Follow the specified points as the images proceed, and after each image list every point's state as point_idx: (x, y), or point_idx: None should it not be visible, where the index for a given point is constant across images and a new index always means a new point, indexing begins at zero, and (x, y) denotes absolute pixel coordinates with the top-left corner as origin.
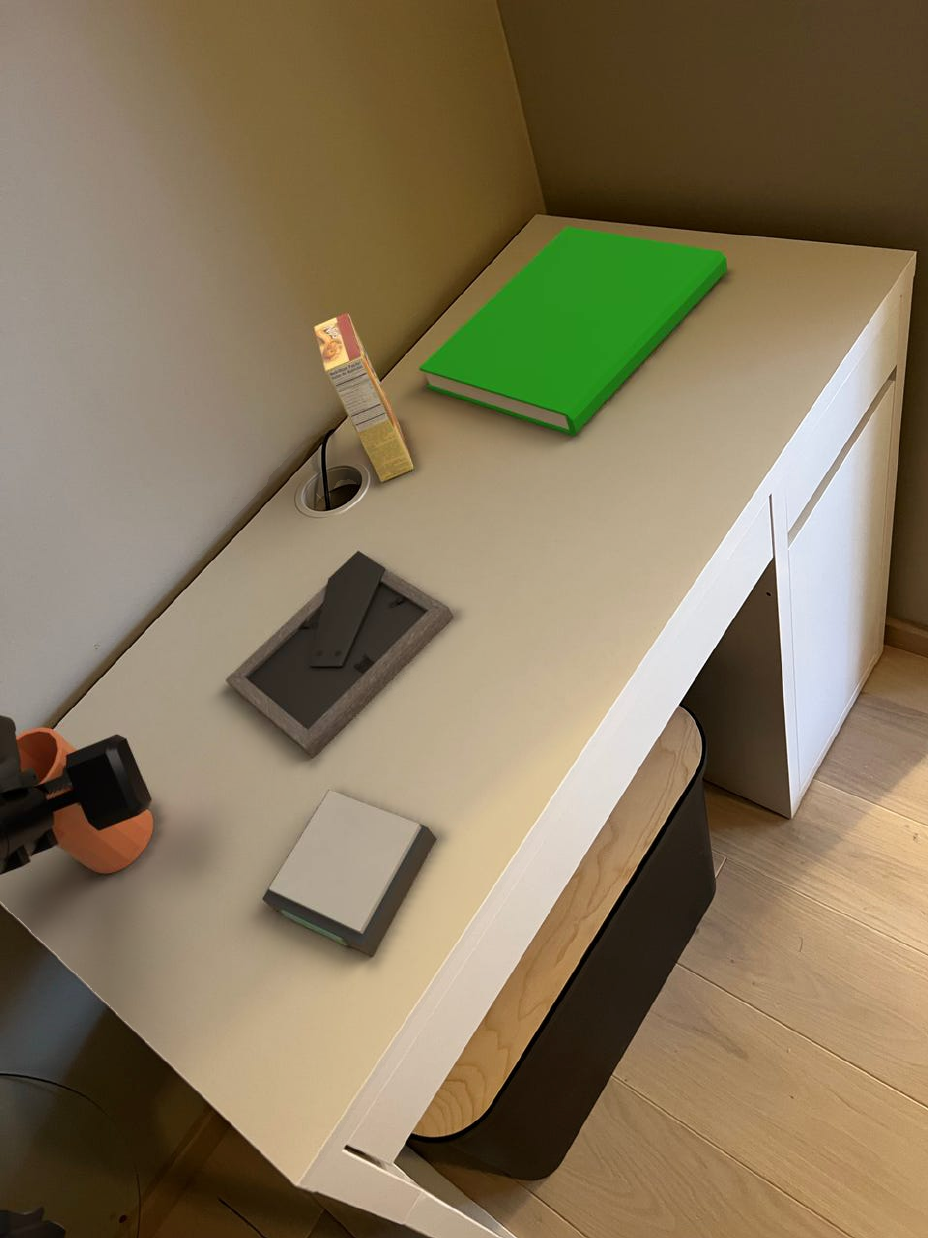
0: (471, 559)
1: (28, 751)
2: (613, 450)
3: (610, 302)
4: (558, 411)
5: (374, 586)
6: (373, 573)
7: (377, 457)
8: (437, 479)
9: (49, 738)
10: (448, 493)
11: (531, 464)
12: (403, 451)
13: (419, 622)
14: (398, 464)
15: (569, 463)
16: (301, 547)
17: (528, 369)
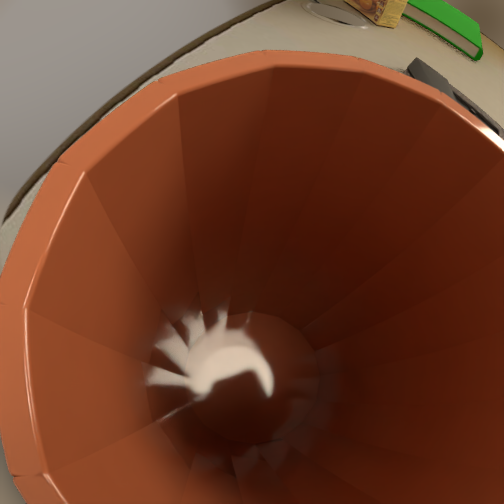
0: (480, 103)
1: (202, 181)
2: (497, 79)
3: (452, 13)
4: (477, 45)
5: (451, 91)
6: (442, 80)
7: (389, 7)
8: (417, 41)
9: (359, 132)
10: (432, 52)
11: (466, 63)
12: (401, 14)
13: (501, 137)
14: (393, 20)
15: (484, 73)
16: (336, 37)
17: (441, 16)
